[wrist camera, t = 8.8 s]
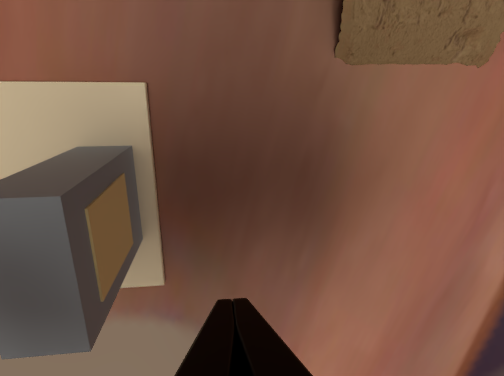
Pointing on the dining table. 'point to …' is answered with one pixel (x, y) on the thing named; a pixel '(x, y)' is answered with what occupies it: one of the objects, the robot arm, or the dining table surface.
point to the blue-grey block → (65, 248)
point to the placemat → (86, 144)
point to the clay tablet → (419, 31)
